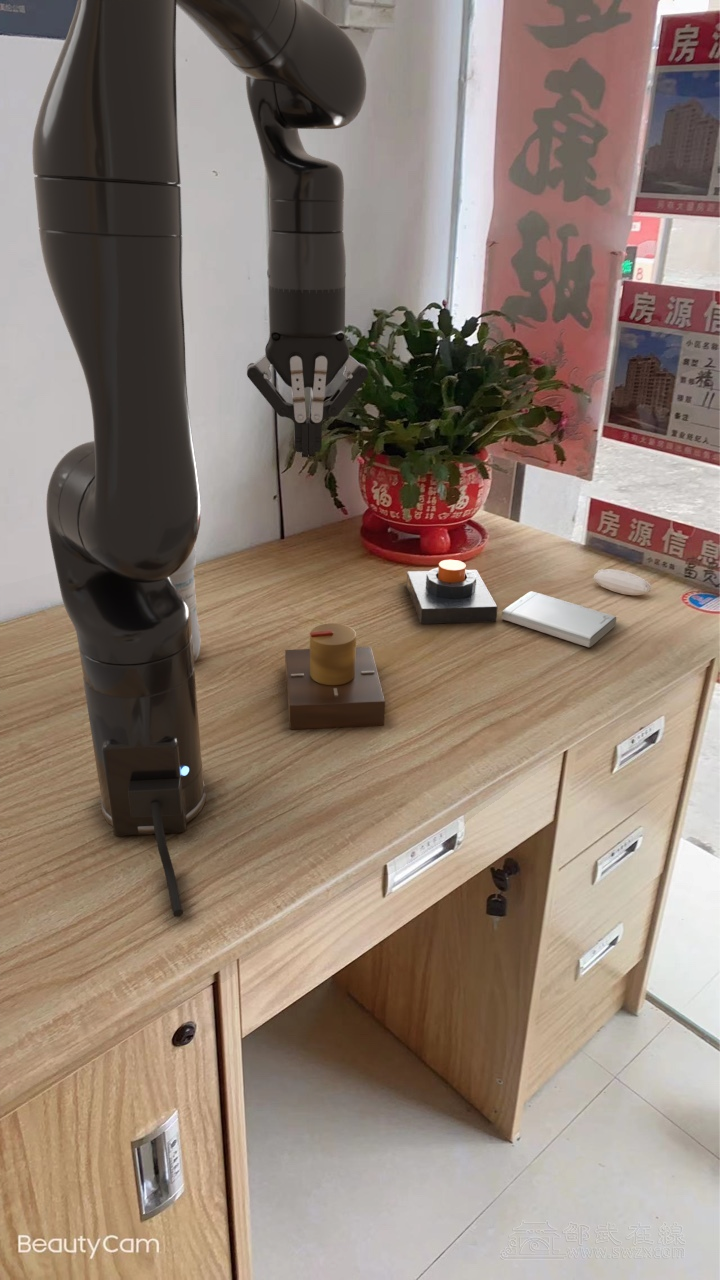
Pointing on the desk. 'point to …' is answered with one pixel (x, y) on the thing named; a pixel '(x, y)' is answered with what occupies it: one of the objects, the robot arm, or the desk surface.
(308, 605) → the desk surface
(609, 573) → the white oval capsule
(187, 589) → the bottle
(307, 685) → the dial panel
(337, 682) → the dial
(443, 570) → the orange push button
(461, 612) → the push button base
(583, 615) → the hard drive
